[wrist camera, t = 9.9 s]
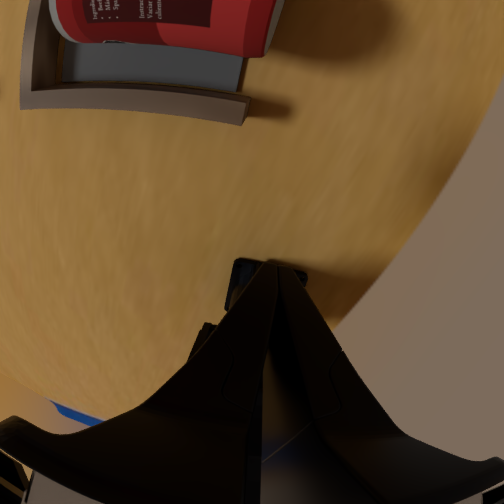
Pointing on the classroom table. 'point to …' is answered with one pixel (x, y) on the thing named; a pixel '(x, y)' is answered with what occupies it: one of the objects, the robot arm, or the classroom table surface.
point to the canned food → (172, 23)
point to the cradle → (108, 94)
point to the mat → (150, 65)
